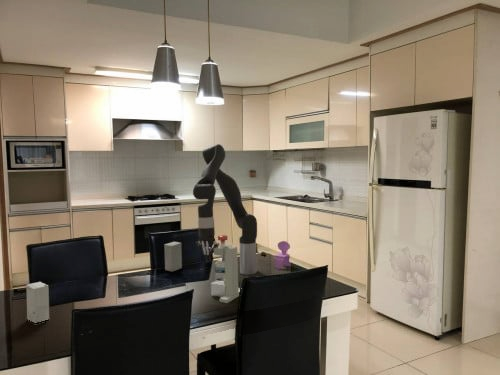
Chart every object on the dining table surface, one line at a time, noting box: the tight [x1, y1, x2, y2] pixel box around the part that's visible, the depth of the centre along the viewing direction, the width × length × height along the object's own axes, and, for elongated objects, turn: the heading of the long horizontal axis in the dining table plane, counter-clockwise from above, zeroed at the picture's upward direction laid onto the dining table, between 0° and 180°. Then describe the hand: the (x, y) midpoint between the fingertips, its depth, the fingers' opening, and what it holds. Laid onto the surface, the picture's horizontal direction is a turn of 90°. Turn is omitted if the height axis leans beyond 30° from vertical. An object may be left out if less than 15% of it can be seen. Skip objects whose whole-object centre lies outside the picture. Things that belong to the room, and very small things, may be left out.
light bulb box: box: [214, 262, 225, 281], centre depth 206 cm, size 11×7×11 cm, turn 169°
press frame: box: [213, 244, 241, 304], centre depth 182 cm, size 16×9×23 cm, turn 151°
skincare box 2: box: [163, 241, 183, 272], centre depth 232 cm, size 8×7×16 cm
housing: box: [210, 279, 226, 298], centre depth 185 cm, size 5×8×8 cm, turn 61°
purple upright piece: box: [274, 240, 292, 270], centre depth 230 cm, size 8×9×15 cm
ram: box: [215, 234, 228, 268], centre depth 183 cm, size 5×5×14 cm
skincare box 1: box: [26, 281, 50, 323], centre depth 160 cm, size 8×6×15 cm
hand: (208, 262), depth 187 cm, fingers closed
